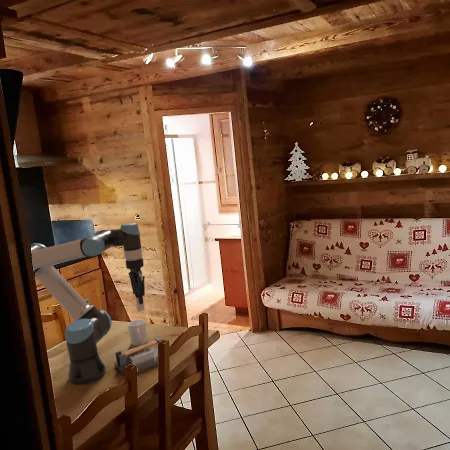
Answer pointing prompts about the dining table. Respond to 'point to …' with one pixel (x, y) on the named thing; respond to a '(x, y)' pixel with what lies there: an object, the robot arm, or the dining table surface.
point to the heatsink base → (138, 358)
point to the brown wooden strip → (139, 348)
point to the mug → (138, 332)
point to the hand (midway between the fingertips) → (141, 310)
